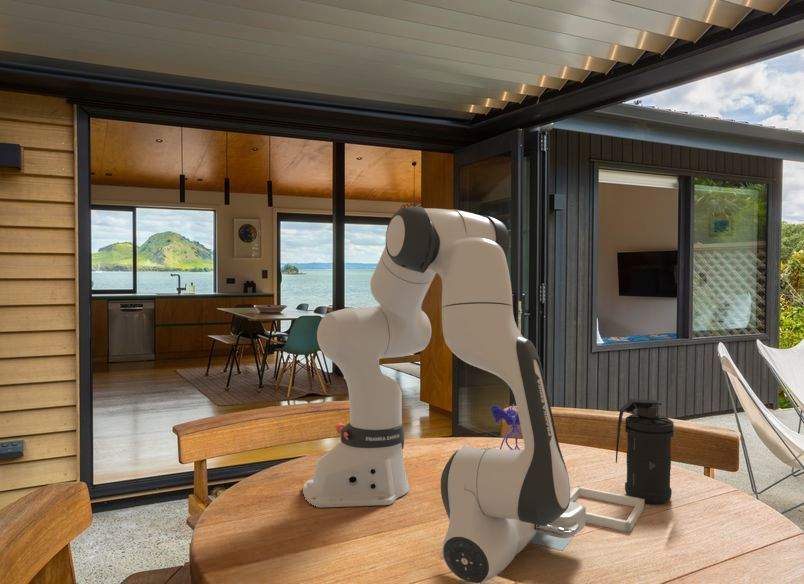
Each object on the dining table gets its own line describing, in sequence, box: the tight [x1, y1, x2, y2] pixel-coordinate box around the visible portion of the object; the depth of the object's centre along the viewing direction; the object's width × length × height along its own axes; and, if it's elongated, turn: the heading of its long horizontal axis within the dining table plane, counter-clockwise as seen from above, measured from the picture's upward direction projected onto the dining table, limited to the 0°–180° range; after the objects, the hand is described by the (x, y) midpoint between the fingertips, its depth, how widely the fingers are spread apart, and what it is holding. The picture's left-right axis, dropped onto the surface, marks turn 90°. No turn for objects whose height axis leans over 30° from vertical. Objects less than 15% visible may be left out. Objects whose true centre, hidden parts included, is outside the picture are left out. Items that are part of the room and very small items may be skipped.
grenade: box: [615, 398, 675, 505], centre depth 125 cm, size 9×11×20 cm
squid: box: [485, 404, 524, 450], centre depth 154 cm, size 14×35×18 cm
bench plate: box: [529, 532, 575, 551], centre depth 108 cm, size 14×14×2 cm
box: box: [570, 485, 646, 533], centre depth 114 cm, size 13×13×3 cm
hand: (537, 493), depth 109 cm, fingers closed on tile, 4 cm apart
